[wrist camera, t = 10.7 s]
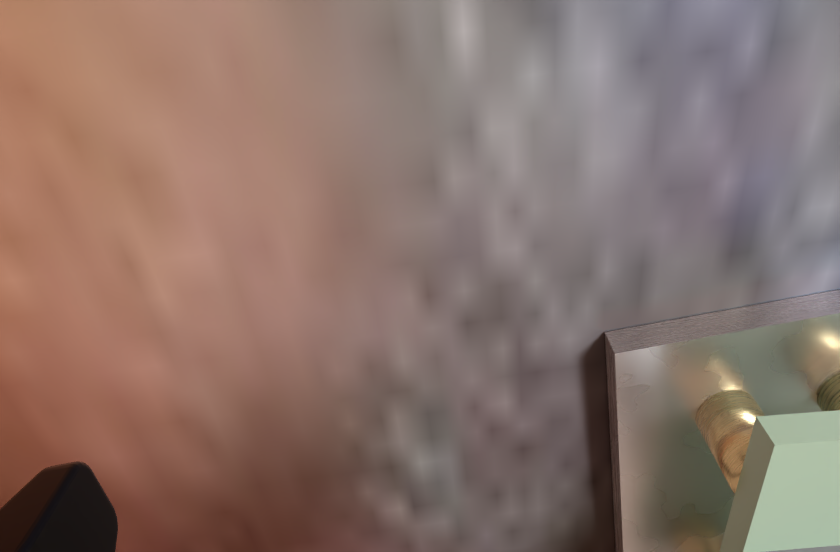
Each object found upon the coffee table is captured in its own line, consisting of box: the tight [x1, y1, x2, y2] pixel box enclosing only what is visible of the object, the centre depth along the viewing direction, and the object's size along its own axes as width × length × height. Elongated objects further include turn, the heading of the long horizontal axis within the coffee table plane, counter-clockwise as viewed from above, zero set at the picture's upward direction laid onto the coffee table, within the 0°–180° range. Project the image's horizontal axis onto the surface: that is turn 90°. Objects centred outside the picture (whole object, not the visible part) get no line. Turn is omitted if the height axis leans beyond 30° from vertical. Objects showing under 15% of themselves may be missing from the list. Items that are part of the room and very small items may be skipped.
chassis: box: [605, 290, 840, 552], centre depth 24 cm, size 14×10×4 cm
